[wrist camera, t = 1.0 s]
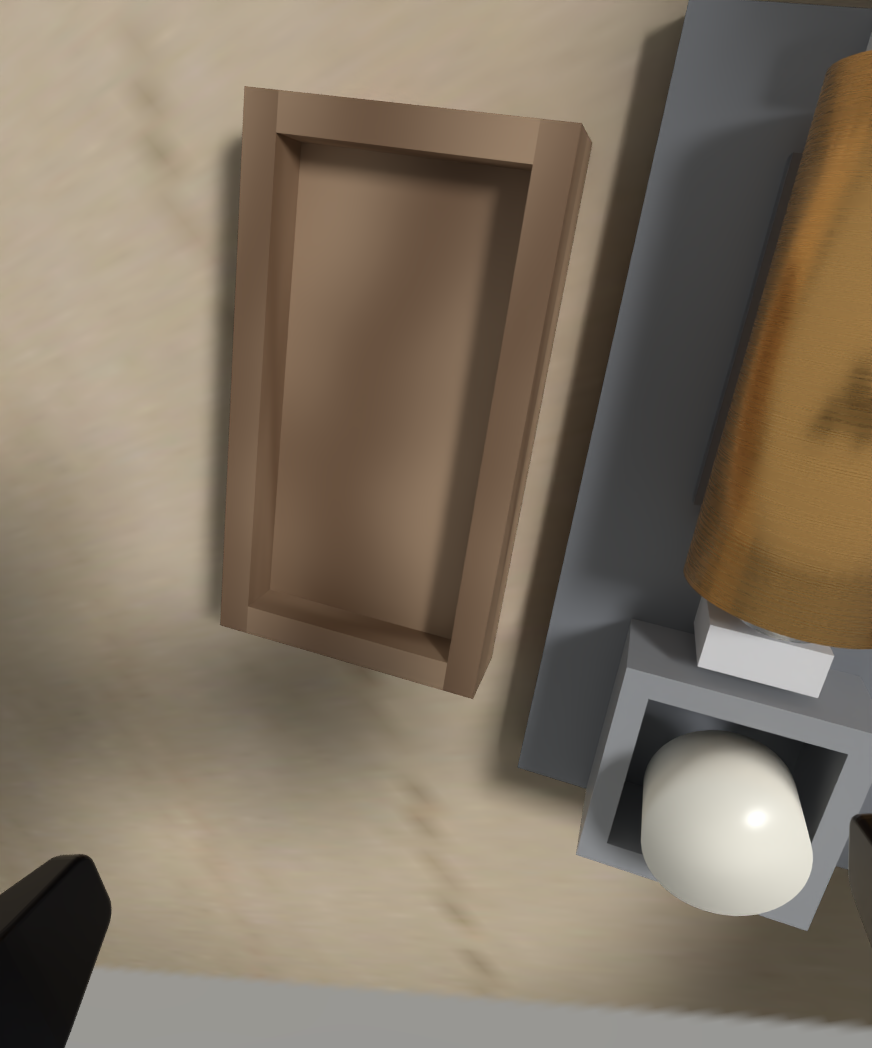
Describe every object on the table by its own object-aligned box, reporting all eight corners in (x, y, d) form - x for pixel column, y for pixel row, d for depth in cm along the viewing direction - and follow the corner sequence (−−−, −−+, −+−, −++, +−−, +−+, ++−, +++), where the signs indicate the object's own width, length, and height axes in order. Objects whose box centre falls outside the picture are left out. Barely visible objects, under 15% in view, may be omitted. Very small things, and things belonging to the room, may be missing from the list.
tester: (1215, 52, 13) (1397, -23, 10) (860, 848, 19) (899, 961, 16) (688, 14, 15) (694, -60, 12) (524, 746, 21) (498, 829, 18)
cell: (1048, 120, 13) (1202, 56, 9) (859, 607, 16) (917, 702, 13) (806, 96, 14) (858, 29, 10) (674, 564, 17) (677, 641, 13)
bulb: (818, 755, 15) (836, 812, 14) (772, 871, 17) (784, 937, 15) (662, 712, 16) (662, 761, 14) (628, 826, 17) (624, 883, 16)
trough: (592, 143, 16) (581, 123, 14) (491, 658, 21) (472, 699, 19) (292, 108, 18) (244, 86, 16) (260, 593, 22) (220, 625, 20)
